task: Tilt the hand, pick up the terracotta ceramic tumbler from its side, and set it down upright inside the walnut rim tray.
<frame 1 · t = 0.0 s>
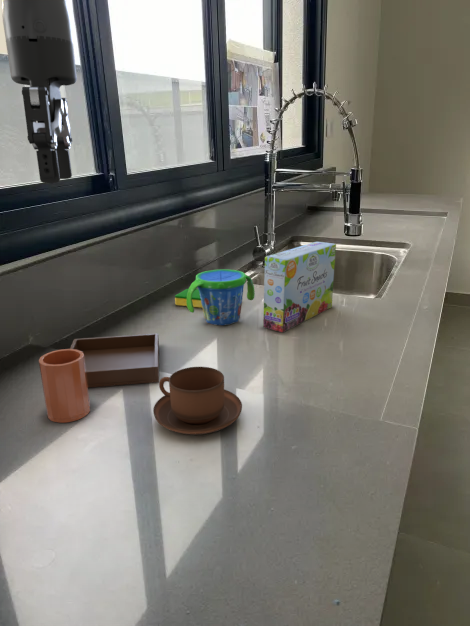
hand: (57, 180, 64), 32 cm above the worktop, tool pointing down, fingers open, 8 cm apart
tumbler: (69, 412, 70), on the worktop
dish sponge: (207, 304, 119), on the worktop
cup and saucer: (198, 420, 68), on the worktop
snack box: (300, 318, 108), on the worktop
tray: (114, 366, 85), on the worktop
snack cup: (222, 321, 107), on the worktop
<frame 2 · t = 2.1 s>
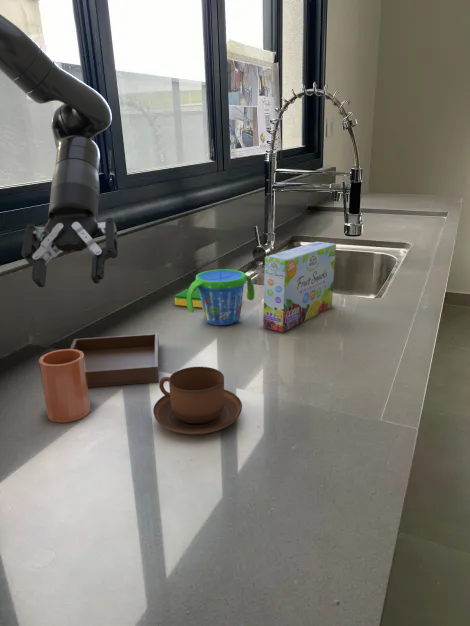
hand: (67, 283, 75), 16 cm above the worktop, tool tilted 40°, fingers open, 8 cm apart
nothing on the worktop moved.
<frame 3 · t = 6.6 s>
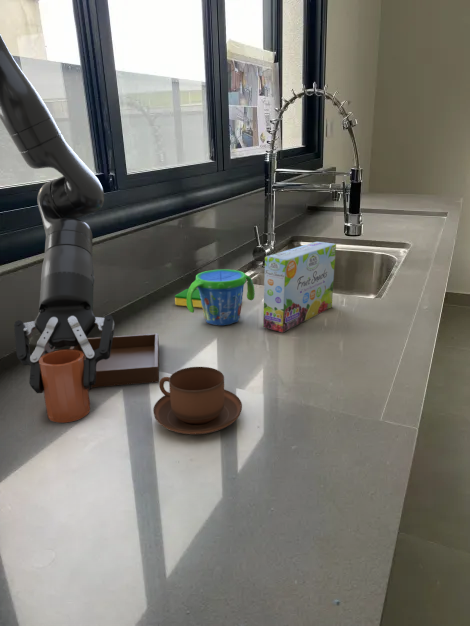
hand: (63, 389, 67), 4 cm above the worktop, tool tilted 45°, fingers closed on tumbler, 6 cm apart
tumbler: (69, 412, 70), on the worktop, touching gripper
everything else where it was.
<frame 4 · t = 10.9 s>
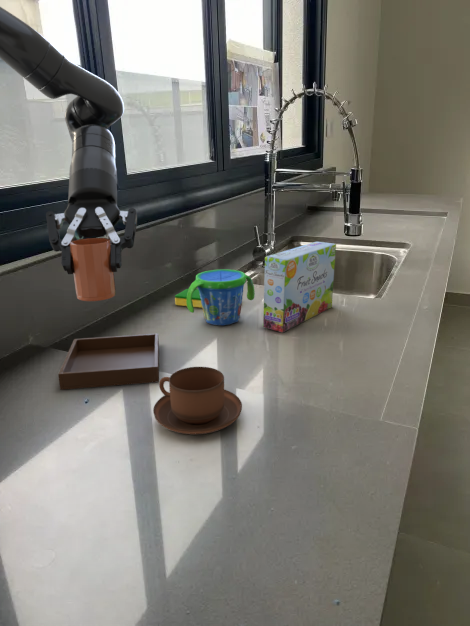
hand: (91, 270, 74), 18 cm above the worktop, tool tilted 45°, fingers closed on tumbler, 6 cm apart
tumbler: (96, 295, 77), point 14 cm above the worktop, touching gripper
everything else where it was.
when the fingers open (5 cm above the worktop, at t = 15.4 s): tumbler stays where it is, resting on tray.
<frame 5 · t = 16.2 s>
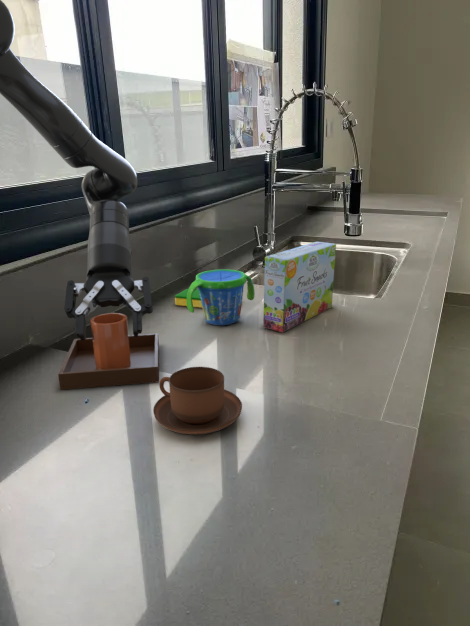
hand: (109, 336, 81), 6 cm above the worktop, tool tilted 45°, fingers open, 8 cm apart
tumbler: (113, 365, 84), resting on tray
everything else where it was.
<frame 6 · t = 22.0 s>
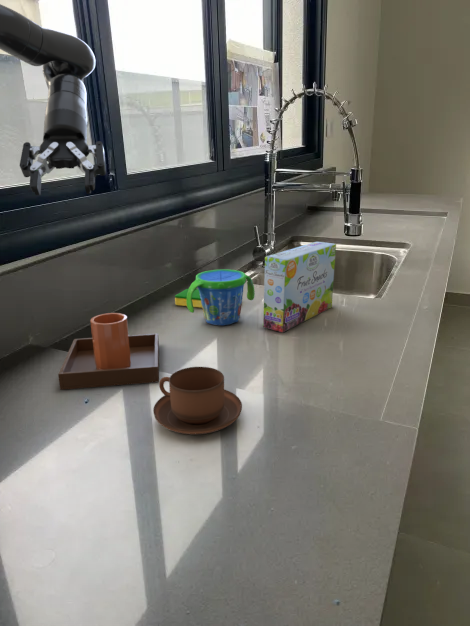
hand: (62, 191, 85), 29 cm above the worktop, tool tilted 45°, fingers open, 8 cm apart
nothing on the worktop moved.
at the end: tumbler inside the target area in the tray (0.9 cm from its centre), point 0.5 cm above the tray's base; tumbler tilted 0°; the gripper is holding nothing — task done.
